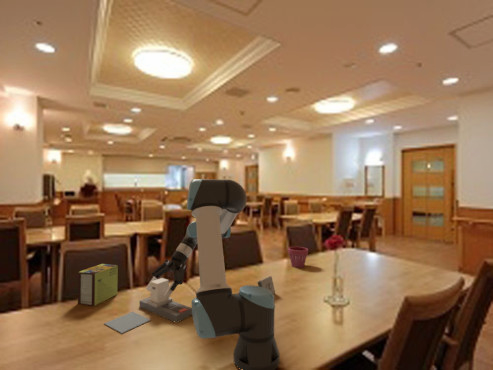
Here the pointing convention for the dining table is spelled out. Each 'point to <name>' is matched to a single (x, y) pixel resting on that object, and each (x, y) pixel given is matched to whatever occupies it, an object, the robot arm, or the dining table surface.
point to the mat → (127, 322)
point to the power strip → (167, 309)
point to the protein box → (97, 284)
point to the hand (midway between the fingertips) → (156, 293)
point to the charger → (159, 290)
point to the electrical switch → (267, 284)
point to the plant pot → (298, 256)
